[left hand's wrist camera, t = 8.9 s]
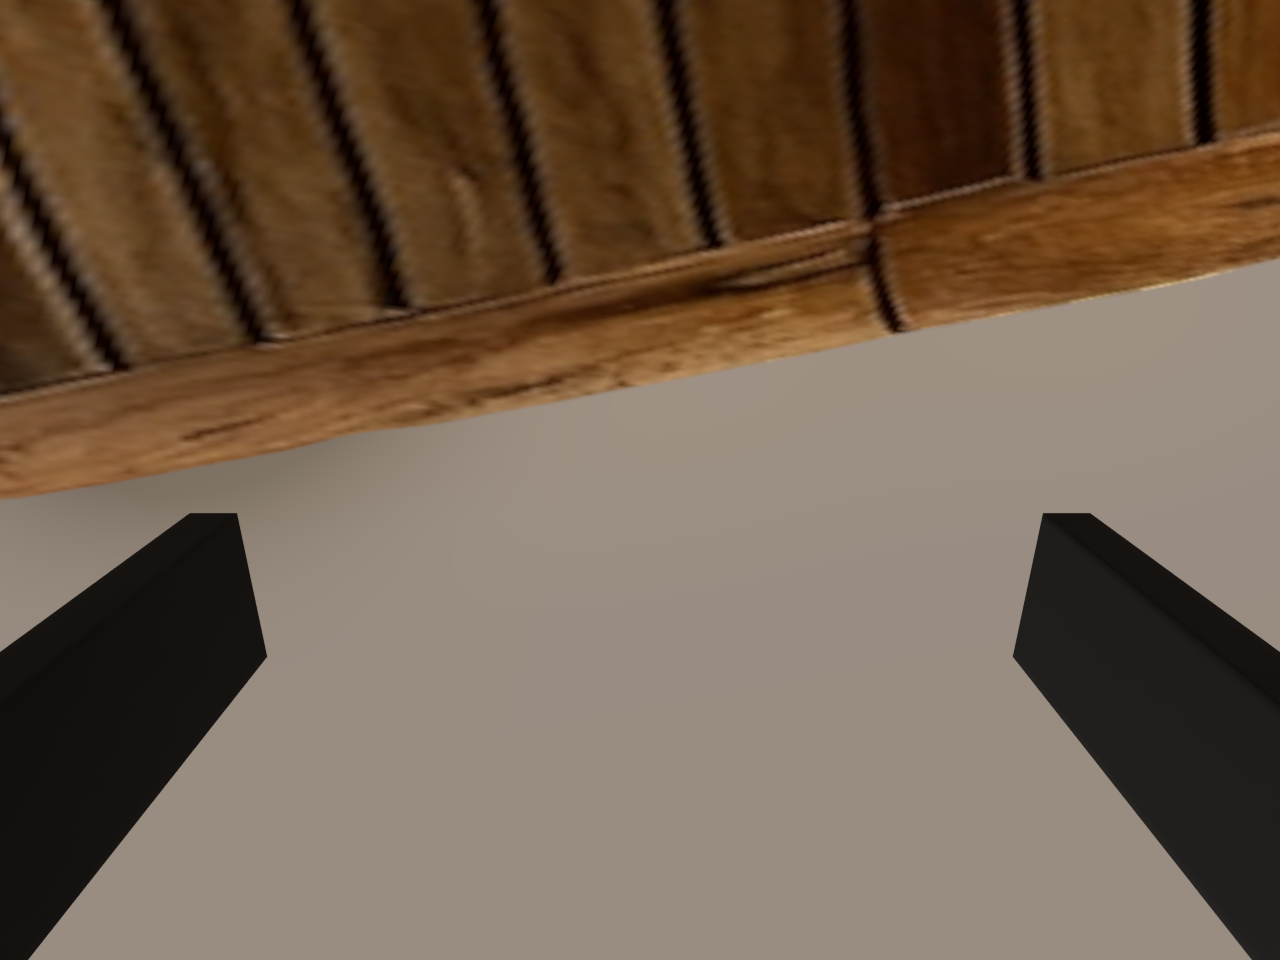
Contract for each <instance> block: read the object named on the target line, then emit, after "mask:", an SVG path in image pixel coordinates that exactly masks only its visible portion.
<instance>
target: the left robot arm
mask: <svg viewBox="0 0 1280 960" xmlns="http://www.w3.org/2000/svg"><path fill="white" fill-rule="evenodd" d="M266 658H267V654H266V649H265V644H264V639H263V635H262V630H261V625H260V620H259V616H258V611H257V606H256V601H255V597H254V592H253V587H252V582H251V578H250V573H249V568H248V563H247V559H246V554H245V549H244V544H243V540H242V535H241V530H240V525H239V521H238V516H237V513H190V514H188V515H187V516H185V517H184V518H183V519H181V520H180V521H179V522H177V523H176V524H175V525H173V526H172V527H170V528H169V529H168V530H166V531H165V532H164V533H162V534H161V535H160V536H158V537H157V538H155V539H154V540H153V541H151V542H150V543H149V544H147V545H146V546H144V547H143V548H142V549H140V550H139V551H138V552H136V553H135V554H133V555H132V556H131V557H129V558H128V559H127V560H125V561H124V562H123V563H121V564H120V565H119V566H117V567H116V568H114V569H113V570H112V571H110V572H109V573H108V574H106V575H105V576H103V577H102V578H101V579H99V580H98V581H97V582H95V583H94V584H93V585H91V586H90V587H88V588H87V589H86V590H84V591H83V592H82V593H80V594H79V595H77V596H76V597H75V598H73V599H72V600H71V601H69V602H68V603H67V604H65V605H64V606H62V607H61V608H60V609H58V610H57V611H56V612H54V613H53V614H51V615H50V616H49V617H47V618H46V619H45V620H43V621H42V622H41V623H39V624H38V625H36V626H35V627H34V628H32V629H31V630H30V631H28V632H27V633H26V634H24V635H23V636H21V637H20V638H19V639H17V640H16V641H15V642H13V643H12V644H10V645H9V646H8V647H6V648H5V649H4V650H2V651H1V652H0V960H28V959H29V958H30V957H31V955H32V954H33V953H34V952H35V950H36V949H37V948H38V947H39V945H40V944H41V943H42V941H43V940H44V939H45V938H46V936H47V935H48V934H49V933H50V931H51V930H52V929H53V927H54V926H55V925H56V924H57V922H58V921H59V920H60V919H61V917H62V916H63V915H64V914H65V912H66V911H67V910H68V908H69V907H70V906H71V905H72V903H73V902H74V901H75V900H76V898H77V897H78V896H79V895H80V893H81V892H82V891H83V889H84V888H85V887H86V886H87V884H88V883H89V882H90V881H91V879H92V878H93V877H94V876H95V874H96V873H97V872H98V870H99V869H100V868H101V867H102V865H103V864H104V863H105V862H106V860H107V859H108V858H109V856H110V855H111V854H112V853H113V851H114V850H115V849H116V848H117V846H118V845H119V844H120V843H121V841H122V840H123V839H124V837H125V836H126V835H127V834H128V832H129V831H130V830H131V829H132V827H133V826H134V825H135V824H136V822H137V821H138V820H139V818H140V817H141V816H142V815H143V813H144V812H145V811H146V810H147V808H148V807H149V806H150V805H151V803H152V802H153V801H154V799H155V798H156V797H157V796H158V794H159V793H160V792H161V791H162V789H163V788H164V787H165V785H166V784H167V783H168V782H169V780H170V779H171V778H172V777H173V775H174V774H175V773H176V772H177V770H178V769H179V768H180V767H181V765H182V764H183V763H184V761H185V760H186V759H187V758H188V756H189V755H190V754H191V753H192V751H193V750H194V749H195V748H196V746H197V745H198V744H199V742H200V741H201V740H202V739H203V737H204V736H205V735H206V734H207V732H208V731H209V730H210V728H211V727H212V726H213V725H214V723H215V722H216V721H217V720H218V718H219V717H220V716H221V715H222V713H223V712H224V711H225V709H226V708H227V707H228V706H229V704H230V703H231V702H232V701H233V699H234V698H235V697H236V695H237V694H238V693H239V692H240V690H241V689H242V688H243V687H244V685H245V684H246V683H247V682H248V680H249V679H250V678H251V676H252V675H253V674H254V673H255V671H256V670H257V669H258V668H259V666H260V665H261V664H262V663H263V661H264V660H265V659H266ZM1013 658H1014V659H1015V660H1016V661H1017V663H1018V664H1019V665H1020V666H1021V668H1022V669H1023V670H1024V671H1025V673H1026V674H1027V675H1028V677H1029V678H1030V679H1031V680H1032V682H1033V683H1034V684H1035V685H1036V687H1037V688H1038V689H1039V690H1040V692H1041V693H1042V694H1043V696H1044V697H1045V698H1046V699H1047V701H1048V702H1049V703H1050V704H1051V706H1052V707H1053V708H1054V709H1055V711H1056V712H1057V713H1058V715H1059V716H1060V717H1061V718H1062V720H1063V721H1064V722H1065V723H1066V725H1067V726H1068V727H1069V728H1070V730H1071V731H1072V732H1073V734H1074V735H1075V736H1076V737H1077V739H1078V740H1079V741H1080V742H1081V744H1082V745H1083V746H1084V747H1085V749H1086V750H1087V751H1088V753H1089V754H1090V755H1091V756H1092V758H1093V759H1094V760H1095V761H1096V763H1097V764H1098V765H1099V767H1100V768H1101V769H1102V770H1103V772H1104V773H1105V774H1106V775H1107V777H1108V778H1109V779H1110V780H1111V782H1112V783H1113V784H1114V786H1115V787H1116V788H1117V789H1118V791H1119V792H1120V793H1121V794H1122V796H1123V797H1124V798H1125V799H1126V801H1127V802H1128V803H1129V805H1130V806H1131V807H1132V808H1133V810H1134V811H1135V812H1136V813H1137V815H1138V816H1139V817H1140V818H1141V820H1142V821H1143V822H1144V824H1145V825H1146V826H1147V827H1148V829H1149V830H1150V831H1151V832H1152V834H1153V835H1154V836H1155V837H1156V839H1157V840H1158V841H1159V843H1160V844H1161V845H1162V846H1163V848H1164V849H1165V850H1166V851H1167V853H1168V854H1169V855H1170V856H1171V858H1172V859H1173V860H1174V862H1175V863H1176V864H1177V865H1178V867H1179V868H1180V869H1181V870H1182V872H1183V873H1184V874H1185V875H1186V877H1187V878H1188V879H1189V881H1190V882H1191V883H1192V884H1193V886H1194V887H1195V888H1196V889H1197V891H1198V892H1199V893H1200V895H1201V896H1202V897H1203V898H1204V900H1205V901H1206V902H1207V903H1208V905H1209V906H1210V907H1211V908H1212V910H1213V911H1214V912H1215V914H1216V915H1217V916H1218V917H1219V919H1220V920H1221V921H1222V922H1223V924H1224V925H1225V926H1226V928H1227V929H1228V930H1229V931H1230V933H1231V934H1232V935H1233V936H1234V938H1235V939H1236V940H1237V941H1238V943H1239V944H1240V945H1241V946H1242V948H1243V949H1244V950H1245V952H1246V953H1247V954H1248V955H1249V957H1250V958H1251V959H1252V960H1280V652H1279V651H1278V650H1276V649H1275V648H1274V647H1272V646H1271V645H1269V644H1268V643H1267V642H1265V641H1264V640H1263V639H1261V638H1260V637H1259V636H1257V635H1256V634H1255V633H1253V632H1252V631H1250V630H1249V629H1248V628H1246V627H1245V626H1244V625H1242V624H1241V623H1239V622H1238V621H1237V620H1235V619H1234V618H1233V617H1231V616H1230V615H1229V614H1227V613H1226V612H1224V611H1223V610H1222V609H1220V608H1219V607H1218V606H1216V605H1215V604H1213V603H1212V602H1211V601H1209V600H1208V599H1207V598H1205V597H1204V596H1203V595H1201V594H1200V593H1198V592H1197V591H1196V590H1194V589H1193V588H1192V587H1190V586H1189V585H1188V584H1186V583H1185V582H1183V581H1182V580H1181V579H1179V578H1178V577H1177V576H1175V575H1174V574H1172V573H1171V572H1170V571H1168V570H1167V569H1166V568H1164V567H1163V566H1162V565H1160V564H1159V563H1157V562H1156V561H1155V560H1153V559H1152V558H1151V557H1149V556H1148V555H1146V554H1145V553H1144V552H1142V551H1141V550H1140V549H1138V548H1137V547H1135V546H1134V545H1133V544H1131V543H1130V542H1129V541H1127V540H1126V539H1125V538H1123V537H1122V536H1121V535H1119V534H1118V533H1116V532H1115V531H1114V530H1112V529H1111V528H1110V527H1108V526H1107V525H1105V524H1104V523H1103V522H1101V521H1100V520H1099V519H1097V518H1096V517H1094V516H1093V515H1092V514H1090V513H1043V516H1042V521H1041V525H1040V530H1039V535H1038V540H1037V544H1036V549H1035V554H1034V559H1033V564H1032V568H1031V573H1030V578H1029V582H1028V587H1027V592H1026V597H1025V602H1024V606H1023V611H1022V616H1021V620H1020V625H1019V630H1018V635H1017V639H1016V644H1015V649H1014V654H1013Z"/></svg>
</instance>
